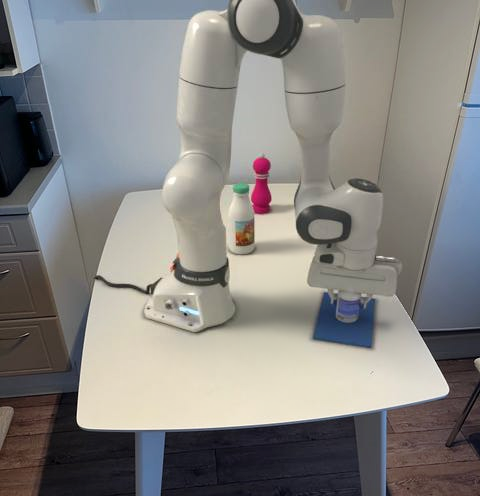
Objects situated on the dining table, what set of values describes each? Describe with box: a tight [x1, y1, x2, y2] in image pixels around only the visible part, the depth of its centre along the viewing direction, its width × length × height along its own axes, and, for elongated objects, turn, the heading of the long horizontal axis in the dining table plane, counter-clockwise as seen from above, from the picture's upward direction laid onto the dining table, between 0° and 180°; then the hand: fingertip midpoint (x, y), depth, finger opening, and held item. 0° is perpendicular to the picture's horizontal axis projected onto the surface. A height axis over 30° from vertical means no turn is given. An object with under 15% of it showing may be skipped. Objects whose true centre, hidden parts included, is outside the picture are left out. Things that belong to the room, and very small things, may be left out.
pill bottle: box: [336, 286, 362, 323], centre depth 116 cm, size 5×5×10 cm
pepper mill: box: [250, 152, 272, 215], centre depth 167 cm, size 7×7×20 cm
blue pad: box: [312, 291, 376, 349], centre depth 119 cm, size 13×20×1 cm, turn 165°
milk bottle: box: [227, 182, 256, 255], centre depth 143 cm, size 8×8×20 cm
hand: (348, 305), depth 116 cm, fingers closed on pill bottle, 5 cm apart
